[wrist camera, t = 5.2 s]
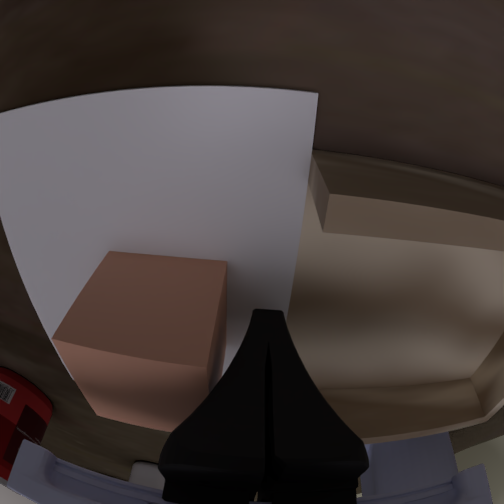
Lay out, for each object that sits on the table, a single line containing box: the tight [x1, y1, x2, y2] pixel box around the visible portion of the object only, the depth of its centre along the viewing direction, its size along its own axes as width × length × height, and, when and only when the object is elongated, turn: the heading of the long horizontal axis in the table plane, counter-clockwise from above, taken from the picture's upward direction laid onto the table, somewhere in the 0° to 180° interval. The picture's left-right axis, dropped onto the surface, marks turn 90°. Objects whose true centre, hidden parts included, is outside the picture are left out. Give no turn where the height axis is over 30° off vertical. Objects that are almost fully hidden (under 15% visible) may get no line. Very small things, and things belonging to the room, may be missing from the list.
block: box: [51, 251, 227, 432], centre depth 11 cm, size 5×5×5 cm
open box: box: [286, 149, 504, 444], centre depth 12 cm, size 14×15×4 cm
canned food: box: [0, 367, 52, 495], centre depth 19 cm, size 8×8×11 cm
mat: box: [0, 85, 318, 380], centre depth 14 cm, size 18×14×1 cm
